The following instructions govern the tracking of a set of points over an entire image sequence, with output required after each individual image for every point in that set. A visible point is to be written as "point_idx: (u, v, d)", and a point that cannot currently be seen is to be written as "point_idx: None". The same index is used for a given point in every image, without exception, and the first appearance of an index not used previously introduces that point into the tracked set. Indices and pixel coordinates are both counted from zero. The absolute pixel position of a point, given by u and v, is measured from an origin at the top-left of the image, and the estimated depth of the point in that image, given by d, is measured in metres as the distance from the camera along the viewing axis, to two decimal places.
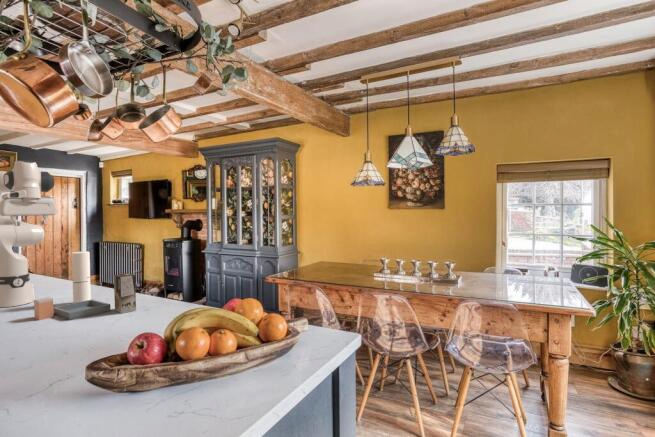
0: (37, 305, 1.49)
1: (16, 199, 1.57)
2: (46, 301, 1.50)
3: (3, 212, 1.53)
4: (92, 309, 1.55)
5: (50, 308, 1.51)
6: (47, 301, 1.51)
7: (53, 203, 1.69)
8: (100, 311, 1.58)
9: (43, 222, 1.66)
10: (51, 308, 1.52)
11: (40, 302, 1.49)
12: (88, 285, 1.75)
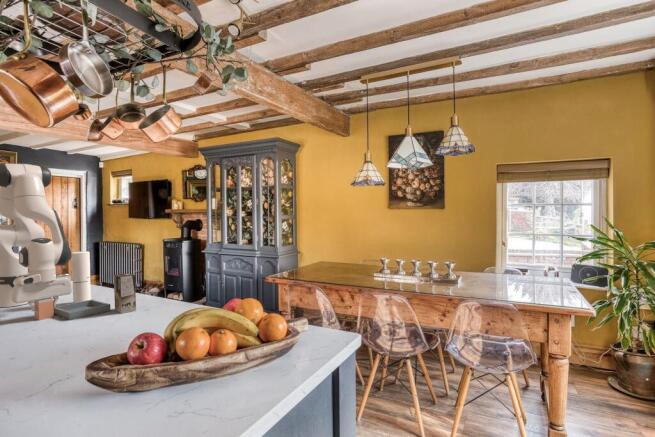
0: (37, 305, 1.49)
1: (30, 285, 1.46)
2: (46, 301, 1.50)
3: (16, 300, 1.43)
4: (92, 309, 1.55)
5: (50, 308, 1.51)
6: (47, 301, 1.51)
7: (68, 282, 1.58)
8: (100, 311, 1.58)
9: (53, 304, 1.54)
10: (51, 308, 1.52)
11: (40, 302, 1.49)
12: (88, 285, 1.75)
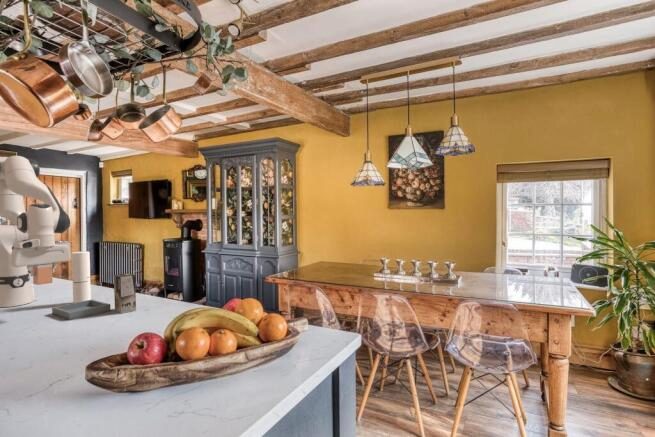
0: (36, 270, 1.49)
1: (29, 249, 1.45)
2: (45, 266, 1.50)
3: (15, 264, 1.42)
4: (92, 309, 1.55)
5: (48, 274, 1.51)
6: (46, 266, 1.50)
7: (67, 249, 1.58)
8: (100, 311, 1.58)
9: (52, 271, 1.54)
10: (50, 274, 1.52)
11: (39, 267, 1.48)
12: (88, 285, 1.75)
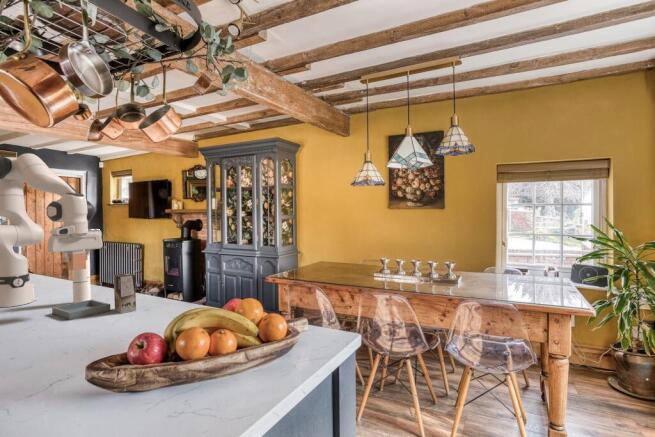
0: (71, 256, 1.54)
1: (65, 235, 1.51)
2: (79, 253, 1.56)
3: (52, 249, 1.48)
4: (92, 309, 1.55)
5: (82, 260, 1.57)
6: (80, 253, 1.56)
7: (99, 237, 1.63)
8: (100, 311, 1.58)
9: None
10: (84, 260, 1.57)
11: (74, 253, 1.54)
12: (88, 285, 1.75)
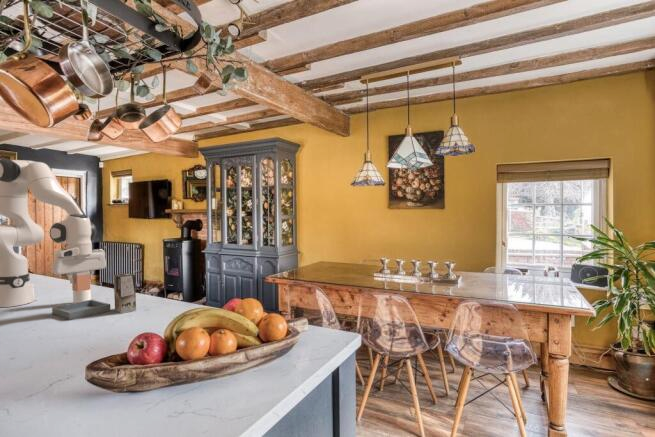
0: (75, 277, 1.56)
1: (69, 257, 1.53)
2: (83, 274, 1.57)
3: (57, 272, 1.49)
4: (92, 309, 1.55)
5: (87, 281, 1.58)
6: (84, 274, 1.57)
7: (103, 257, 1.65)
8: (100, 311, 1.58)
9: None
10: (88, 281, 1.59)
11: (78, 274, 1.55)
12: None
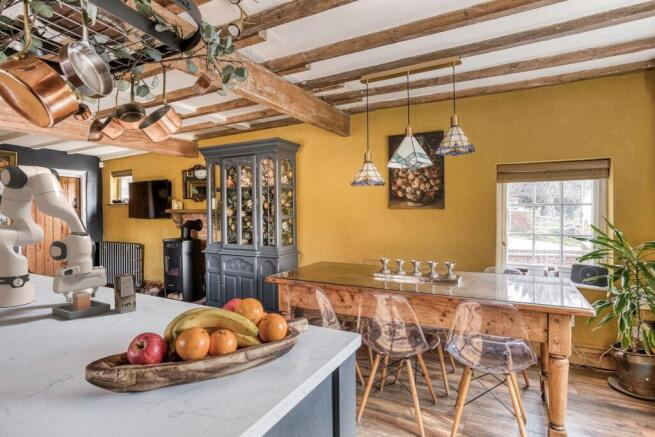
0: (76, 299, 1.56)
1: (70, 276, 1.53)
2: (84, 295, 1.57)
3: (57, 291, 1.50)
4: (92, 309, 1.55)
5: (87, 302, 1.59)
6: (85, 295, 1.58)
7: (103, 274, 1.65)
8: (100, 311, 1.58)
9: (93, 295, 1.62)
10: (88, 302, 1.59)
11: (79, 296, 1.56)
12: None
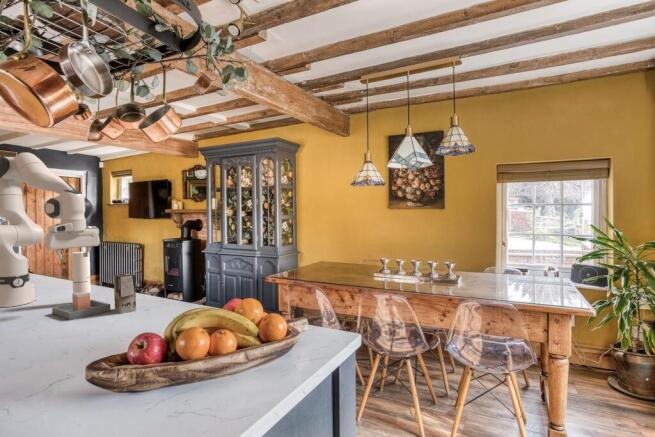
0: (76, 299, 1.56)
1: (62, 233, 1.52)
2: (84, 295, 1.57)
3: (49, 246, 1.49)
4: (92, 309, 1.55)
5: (87, 302, 1.59)
6: (85, 295, 1.58)
7: (97, 234, 1.64)
8: (100, 311, 1.58)
9: (86, 254, 1.61)
10: (88, 302, 1.59)
11: (79, 296, 1.56)
12: (88, 285, 1.75)
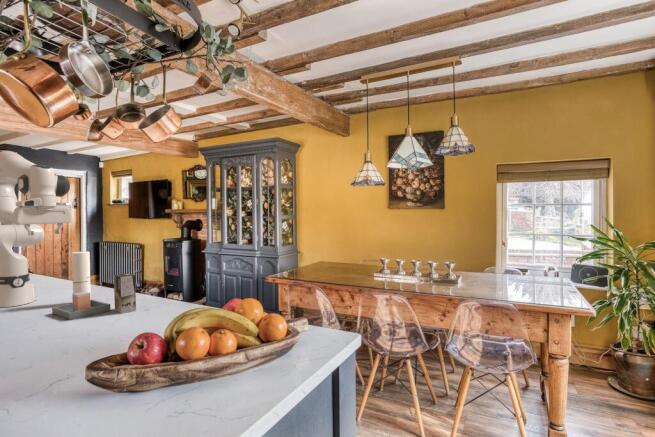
0: (76, 299, 1.56)
1: (31, 207, 1.48)
2: (84, 295, 1.57)
3: (17, 221, 1.45)
4: (92, 309, 1.55)
5: (87, 302, 1.59)
6: (85, 295, 1.58)
7: (68, 211, 1.60)
8: (100, 311, 1.58)
9: (57, 231, 1.58)
10: (88, 302, 1.59)
11: (79, 296, 1.56)
12: (88, 285, 1.75)
